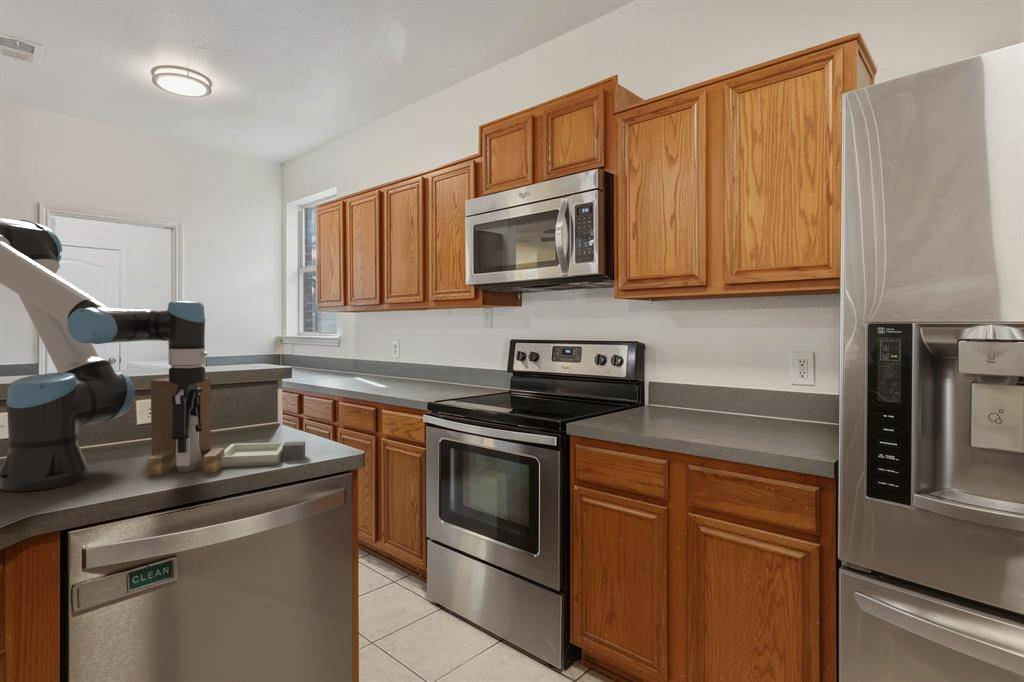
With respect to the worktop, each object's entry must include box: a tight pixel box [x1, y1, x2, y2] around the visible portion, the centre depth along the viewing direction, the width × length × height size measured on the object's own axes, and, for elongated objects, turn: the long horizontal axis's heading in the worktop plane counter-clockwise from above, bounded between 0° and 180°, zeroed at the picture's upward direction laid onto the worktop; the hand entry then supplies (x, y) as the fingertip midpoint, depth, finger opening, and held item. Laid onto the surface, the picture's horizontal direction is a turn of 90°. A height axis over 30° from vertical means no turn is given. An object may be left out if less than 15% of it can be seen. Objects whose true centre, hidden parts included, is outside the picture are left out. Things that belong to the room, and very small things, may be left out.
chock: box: [282, 441, 306, 461], centre depth 145 cm, size 5×4×4 cm
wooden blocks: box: [148, 447, 225, 476], centre depth 133 cm, size 14×8×4 cm, turn 103°
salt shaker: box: [173, 415, 203, 473], centre depth 133 cm, size 6×6×13 cm
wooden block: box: [150, 376, 212, 458], centre depth 149 cm, size 10×10×20 cm
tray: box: [221, 441, 285, 468], centre depth 144 cm, size 14×14×2 cm
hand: (188, 461), depth 133 cm, fingers closed on salt shaker, 6 cm apart
